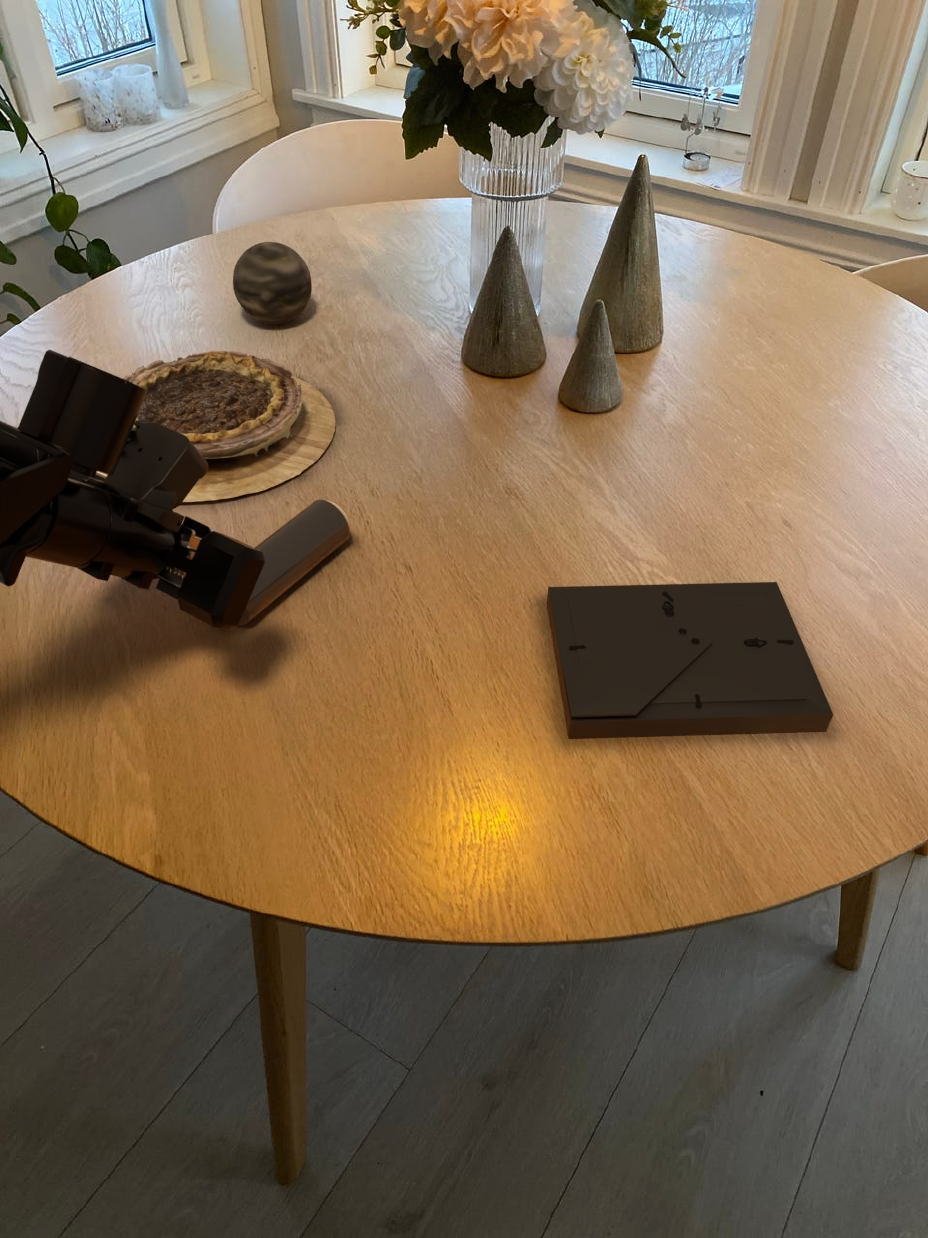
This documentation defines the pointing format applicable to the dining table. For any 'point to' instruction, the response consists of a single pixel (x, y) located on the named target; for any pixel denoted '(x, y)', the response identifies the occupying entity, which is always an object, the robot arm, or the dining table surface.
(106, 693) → the dining table surface
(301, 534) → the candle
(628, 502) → the dining table surface
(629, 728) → the picture frame
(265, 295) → the decorative stone
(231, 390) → the pie
